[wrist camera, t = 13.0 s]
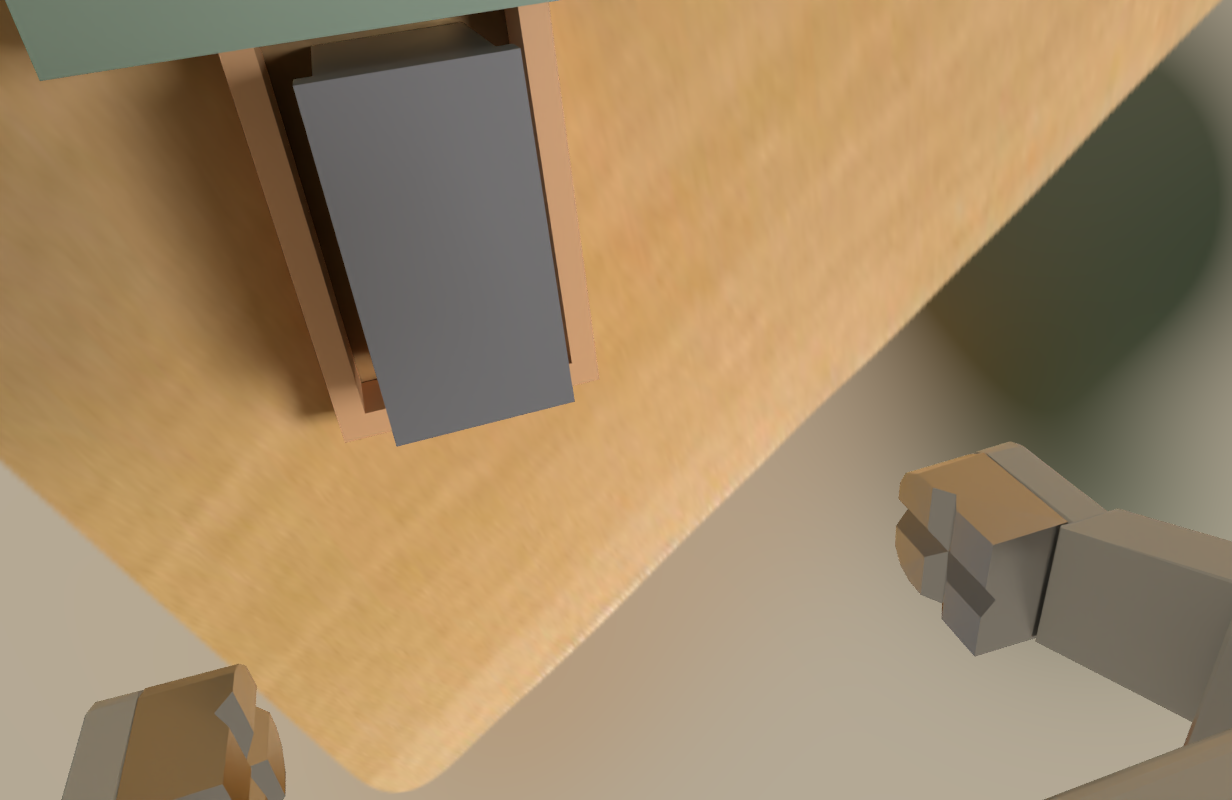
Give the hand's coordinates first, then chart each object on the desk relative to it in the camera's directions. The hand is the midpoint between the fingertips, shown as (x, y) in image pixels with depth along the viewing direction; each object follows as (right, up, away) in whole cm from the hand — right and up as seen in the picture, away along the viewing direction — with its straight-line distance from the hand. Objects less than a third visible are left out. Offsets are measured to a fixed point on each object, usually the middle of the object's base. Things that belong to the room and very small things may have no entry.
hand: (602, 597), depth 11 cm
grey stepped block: (-5, +8, +15) cm, 18 cm away
